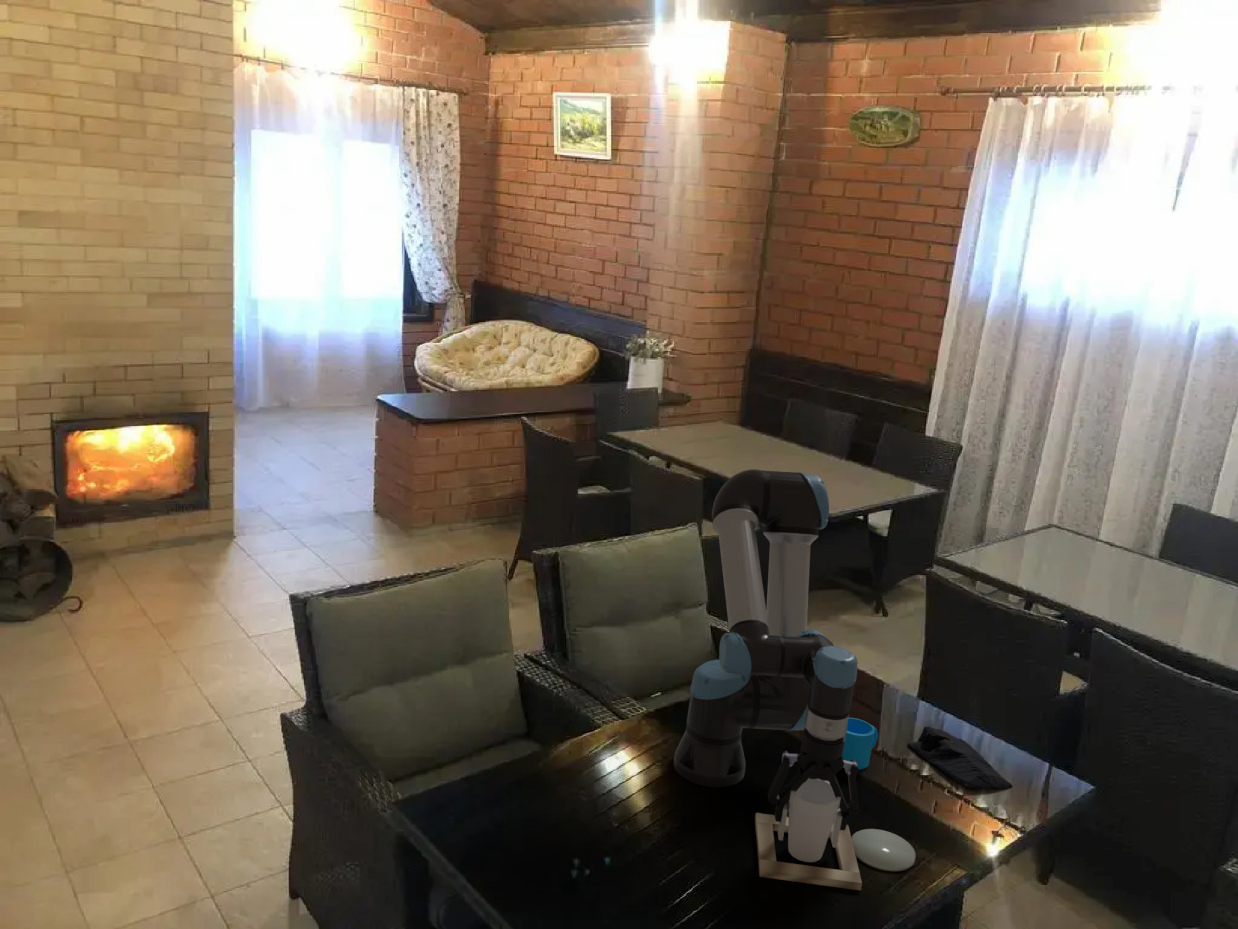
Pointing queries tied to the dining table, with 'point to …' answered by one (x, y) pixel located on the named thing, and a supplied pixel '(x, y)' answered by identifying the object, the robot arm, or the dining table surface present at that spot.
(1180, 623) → the dining table surface
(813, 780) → the foam cup
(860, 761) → the mug
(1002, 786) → the black fabric pouch
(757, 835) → the birch pocket board
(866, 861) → the pale grey-green round part
